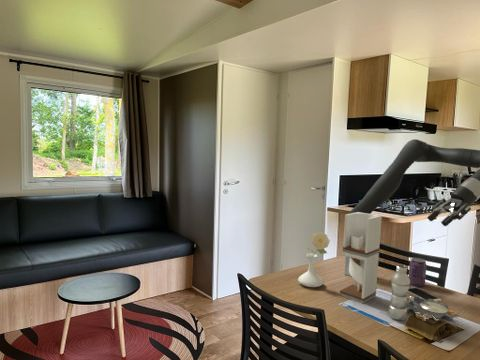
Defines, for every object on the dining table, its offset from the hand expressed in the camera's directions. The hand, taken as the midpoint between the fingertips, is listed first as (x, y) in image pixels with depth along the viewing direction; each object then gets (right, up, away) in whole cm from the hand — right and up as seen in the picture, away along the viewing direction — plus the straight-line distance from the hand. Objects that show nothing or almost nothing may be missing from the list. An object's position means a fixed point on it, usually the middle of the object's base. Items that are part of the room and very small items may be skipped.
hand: (435, 222), depth 131 cm
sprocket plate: (+1, -36, +9) cm, 37 cm away
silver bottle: (-14, -36, +1) cm, 39 cm away
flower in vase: (-40, -33, +30) cm, 60 cm away
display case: (-23, -34, +20) cm, 46 cm away
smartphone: (+7, -35, +24) cm, 44 cm away
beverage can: (+11, -34, +36) cm, 51 cm away
